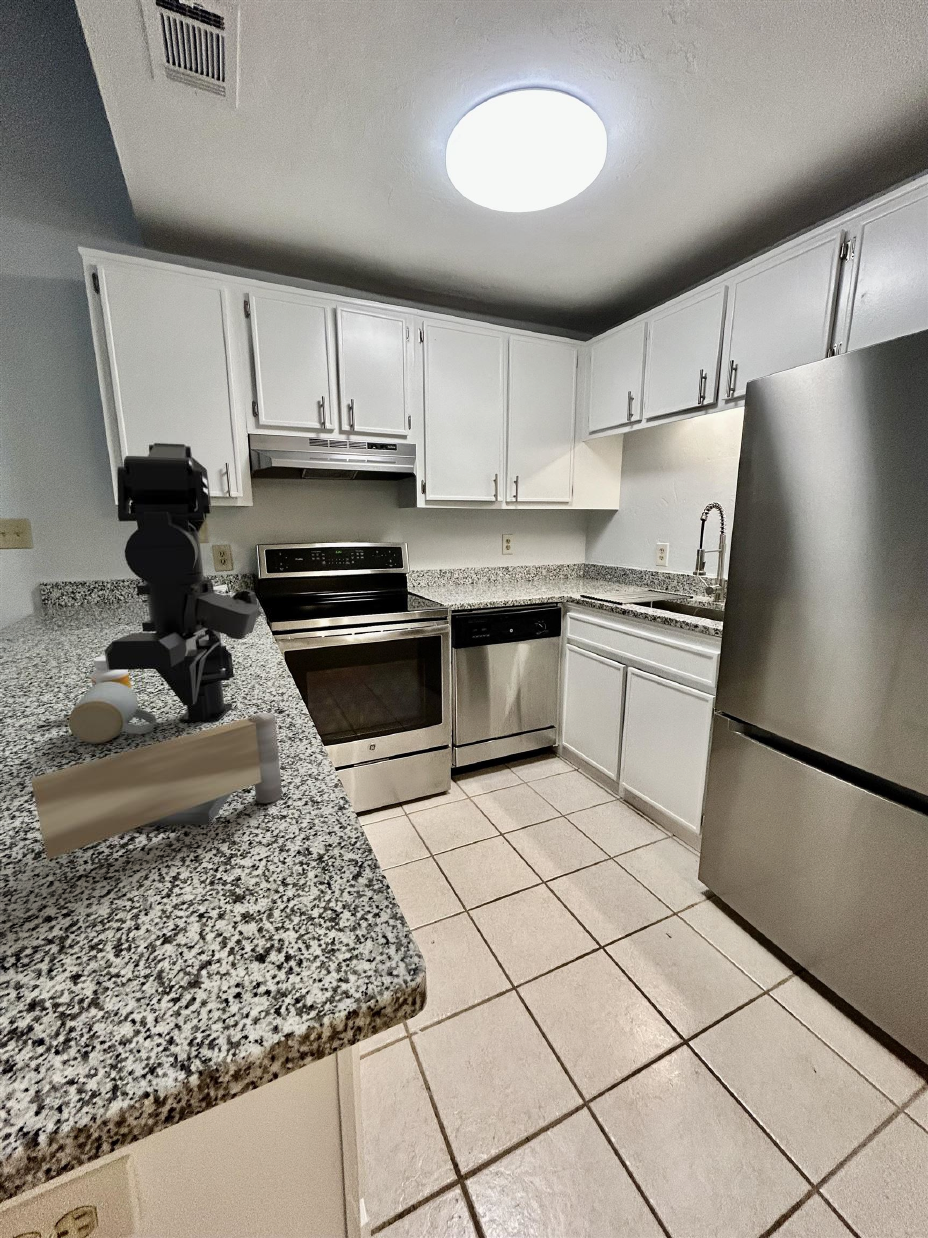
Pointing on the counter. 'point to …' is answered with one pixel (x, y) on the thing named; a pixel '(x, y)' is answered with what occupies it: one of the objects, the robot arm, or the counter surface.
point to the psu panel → (193, 814)
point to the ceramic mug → (108, 714)
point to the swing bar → (156, 782)
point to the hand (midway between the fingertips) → (190, 704)
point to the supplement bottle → (108, 673)
